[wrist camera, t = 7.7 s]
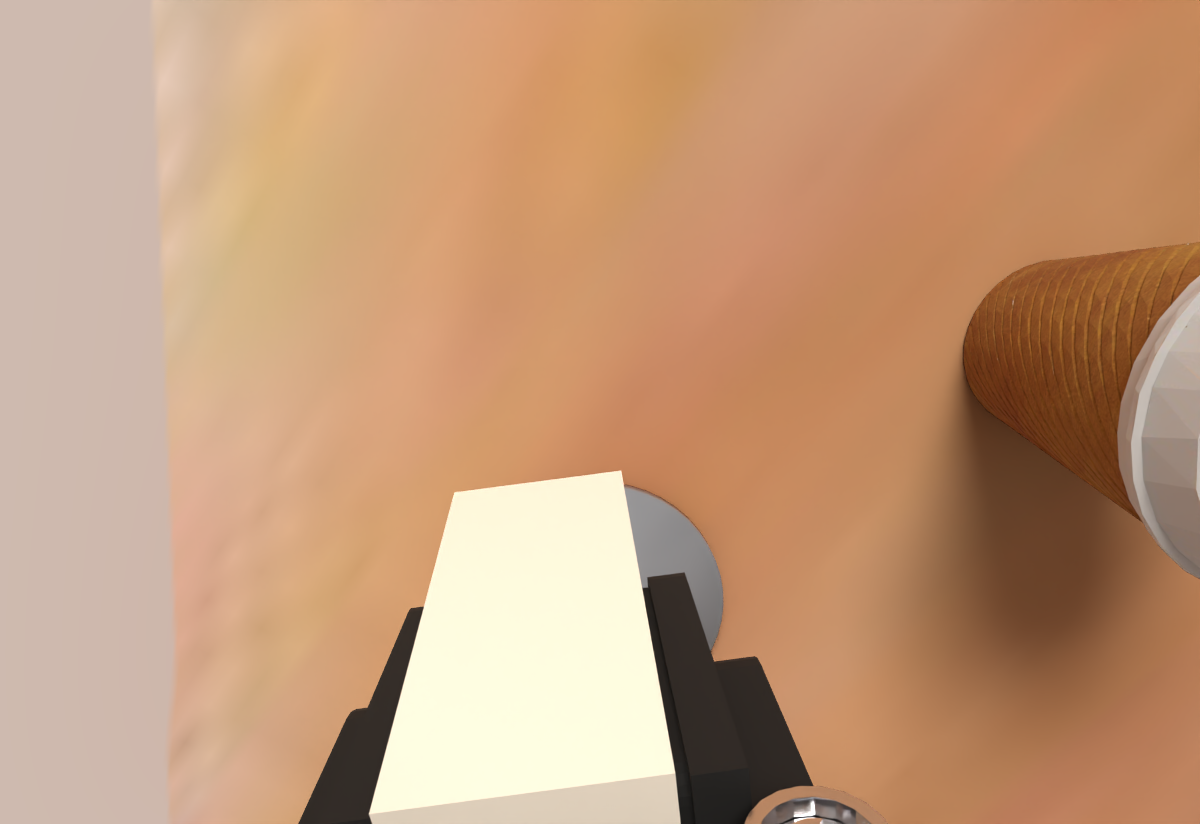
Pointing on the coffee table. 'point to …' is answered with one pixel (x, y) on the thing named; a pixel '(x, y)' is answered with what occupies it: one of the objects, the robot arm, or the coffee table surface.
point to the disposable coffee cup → (1104, 378)
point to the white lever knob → (532, 670)
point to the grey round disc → (675, 553)
